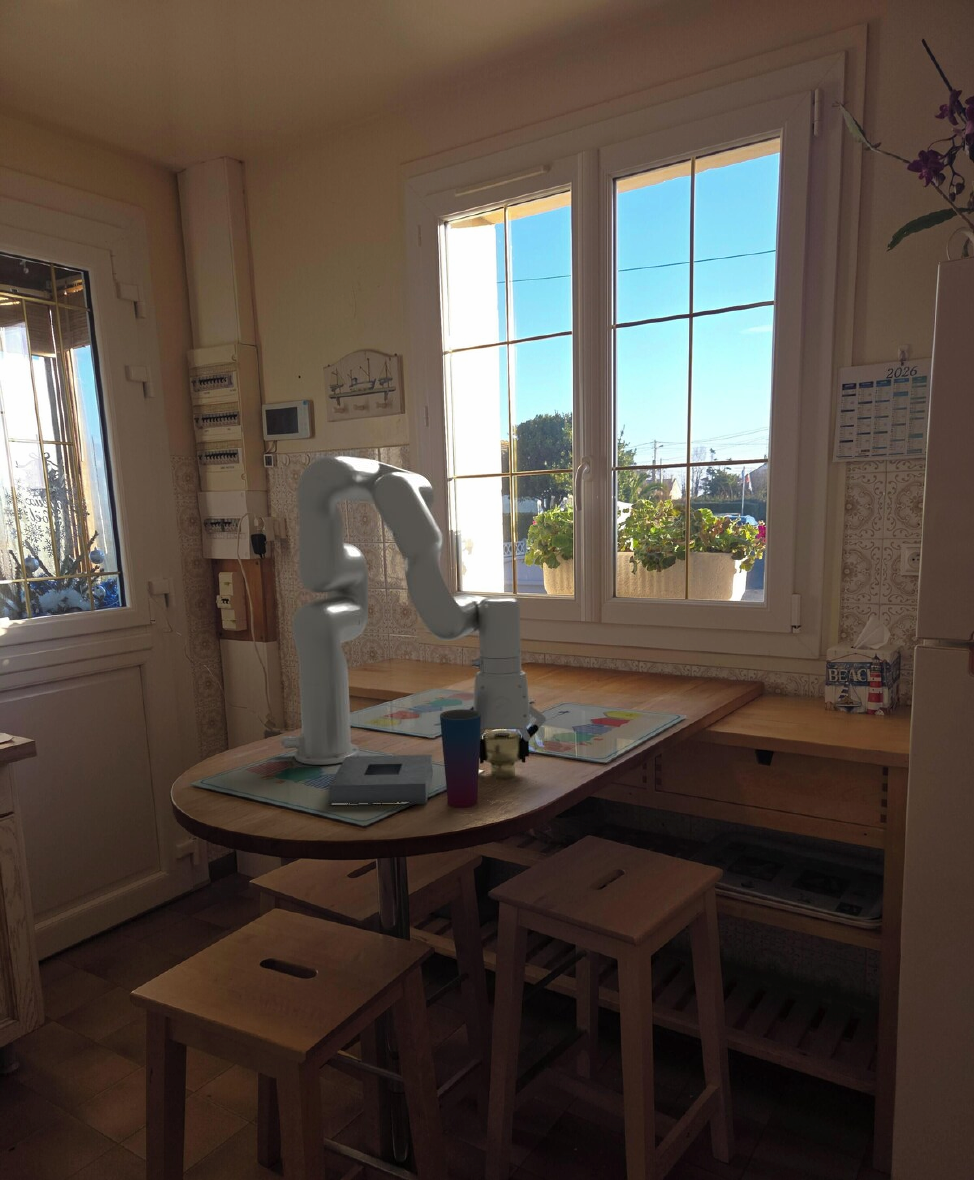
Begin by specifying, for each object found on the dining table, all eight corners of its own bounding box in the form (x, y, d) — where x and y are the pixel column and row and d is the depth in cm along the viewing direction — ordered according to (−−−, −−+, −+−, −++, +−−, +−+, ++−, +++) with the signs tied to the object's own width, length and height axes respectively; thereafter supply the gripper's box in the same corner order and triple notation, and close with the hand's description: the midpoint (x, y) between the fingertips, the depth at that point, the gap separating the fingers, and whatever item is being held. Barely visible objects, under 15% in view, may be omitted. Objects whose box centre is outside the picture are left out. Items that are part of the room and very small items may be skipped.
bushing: (483, 781, 145) (482, 740, 144) (484, 769, 152) (482, 730, 151) (522, 780, 145) (521, 739, 144) (521, 768, 152) (520, 729, 151)
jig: (330, 805, 135) (329, 785, 134) (346, 774, 151) (346, 756, 150) (426, 803, 135) (425, 783, 134) (432, 773, 151) (432, 754, 150)
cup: (491, 801, 135) (489, 713, 134) (463, 812, 130) (461, 721, 129) (462, 792, 140) (459, 707, 139) (433, 803, 135) (431, 715, 134)
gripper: (451, 670, 143) (454, 768, 145) (549, 668, 143) (551, 766, 145) (453, 662, 150) (456, 755, 152) (546, 660, 150) (548, 753, 152)
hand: (502, 760), depth 148 cm, fingers closed on bushing, 7 cm apart
